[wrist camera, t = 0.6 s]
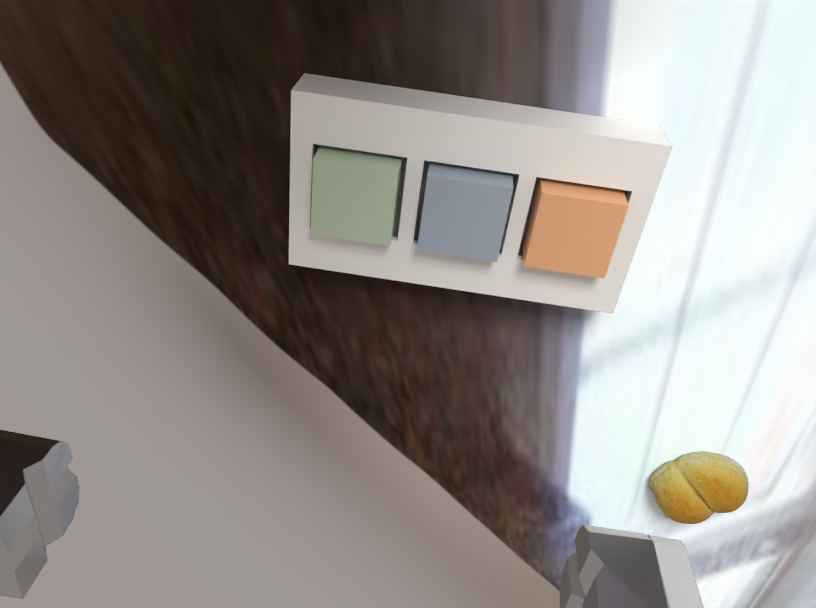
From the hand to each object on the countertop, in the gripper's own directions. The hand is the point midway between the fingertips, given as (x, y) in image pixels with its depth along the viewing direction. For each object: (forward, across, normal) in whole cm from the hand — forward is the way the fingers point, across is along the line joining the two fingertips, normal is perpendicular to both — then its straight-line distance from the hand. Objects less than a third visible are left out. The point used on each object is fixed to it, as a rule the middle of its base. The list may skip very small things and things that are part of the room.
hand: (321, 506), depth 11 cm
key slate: (+40, -3, +13) cm, 42 cm away
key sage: (+40, +5, +13) cm, 42 cm away
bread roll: (+43, -31, +41) cm, 67 cm away
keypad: (+42, -3, +13) cm, 45 cm away
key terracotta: (+40, -11, +13) cm, 43 cm away
